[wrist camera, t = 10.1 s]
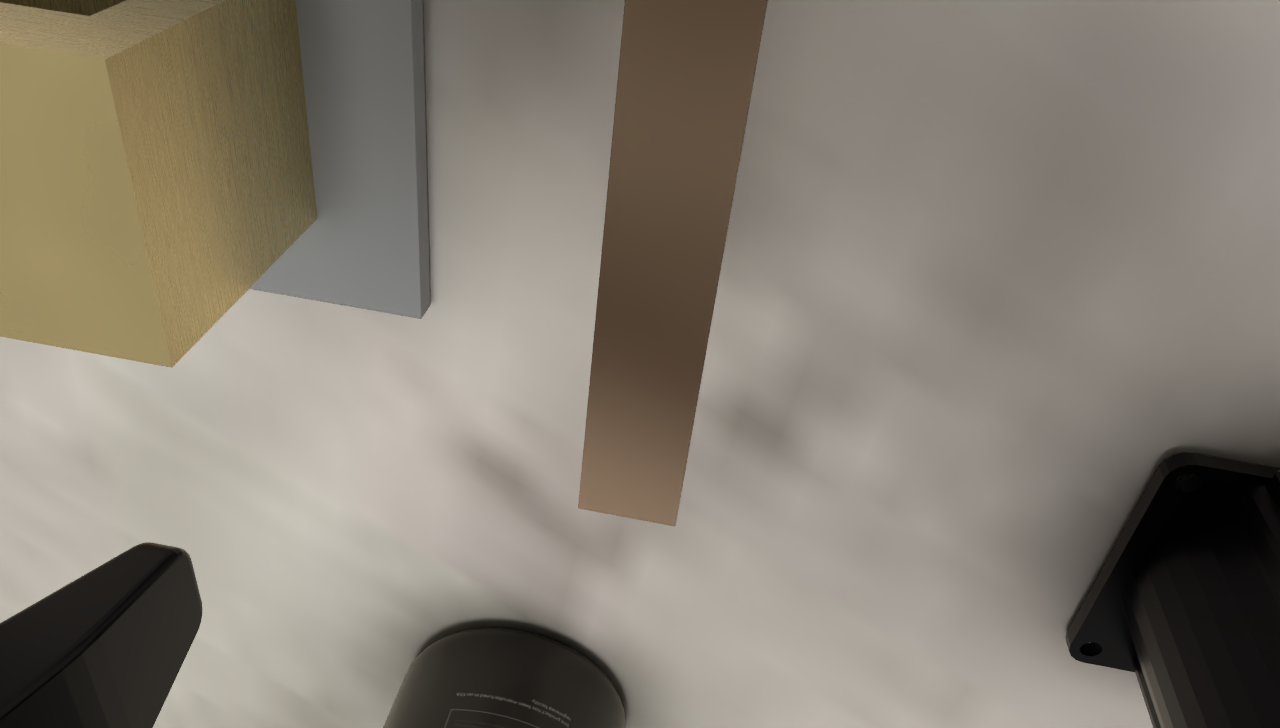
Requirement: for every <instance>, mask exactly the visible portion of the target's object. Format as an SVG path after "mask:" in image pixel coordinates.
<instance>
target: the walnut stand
mask: <svg viewBox="0 0 1280 728" xmlns="http://www.w3.org/2000/svg"><path fill="white" fill-rule="evenodd" d="M767 1H768V0H625V7H624V18H623V29H622V39H621V50H620V61H619V72H618V83H617V94H616V104H615V115H614V126H613V137H612V148H611V159H610V169H609V180H608V191H607V202H606V213H605V224H604V234H603V245H602V256H601V267H600V278H599V289H598V299H597V310H596V321H595V332H594V343H593V354H592V364H591V375H590V386H589V397H588V408H587V419H586V429H585V440H584V451H583V462H582V473H581V484H580V494H579V505H578V508H580V509H585V510H590V511H596V512H601V513H606V514H612V515H617V516H622V517H628V518H633V519H638V520H644V521H649V522H654V523H660V524H665V525H671V526H675V525H676V520H677V514H678V508H679V503H680V497H681V491H682V486H683V480H684V474H685V469H686V463H687V457H688V452H689V446H690V440H691V435H692V429H693V423H694V417H695V412H696V406H697V400H698V395H699V389H700V383H701V378H702V372H703V366H704V360H705V355H706V349H707V343H708V338H709V332H710V326H711V320H712V315H713V309H714V303H715V298H716V292H717V286H718V280H719V275H720V269H721V263H722V258H723V252H724V246H725V241H726V235H727V229H728V223H729V218H730V212H731V206H732V201H733V195H734V189H735V183H736V178H737V172H738V166H739V161H740V155H741V149H742V143H743V138H744V132H745V126H746V121H747V115H748V109H749V104H750V98H751V92H752V86H753V81H754V75H755V69H756V64H757V58H758V52H759V46H760V41H761V35H762V29H763V24H764V18H765V12H766V6H767Z"/></svg>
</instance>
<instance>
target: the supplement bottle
mask: <svg viewBox="0 0 1280 728" xmlns="http://www.w3.org/2000/svg"><path fill="white" fill-rule="evenodd" d="M383 728H626V719H625V711H624V708H623V704H622V702H621V699H620V697H619V695H618V693H617V691H616V689H615V688H614V686H613V685H612V683H611V682H610V680H609V679H608V678H607V677H606V676H605V674H604V673H603V672H602V671H601V670H600V669H599V668H598V667H597V666H595V665H594V664H593V663H592V662H591V661H589V660H588V659H587V658H586V657H584V656H583V655H581V654H580V653H578V652H576V651H575V650H573V649H571V648H570V647H568V646H565V645H563V644H561V643H559V642H557V641H554V640H552V639H549V638H547V637H544V636H541V635H537V634H534V633H530V632H525V631H521V630H514V629H506V628H478V629H470V630H465V631H461V632H457V633H454V634H451V635H448V636H446V637H444V638H441V639H439V640H438V641H436V642H434V643H432V644H431V645H430V646H428V647H427V648H426V649H424V650H423V651H422V652H421V653H420V654H419V655H418V656H417V657H416V659H415V660H414V661H413V663H412V664H411V666H410V668H409V670H408V672H407V674H406V676H405V678H404V680H403V682H402V685H401V687H400V689H399V692H398V694H397V697H396V699H395V701H394V703H393V705H392V708H391V710H390V713H389V715H388V717H387V720H386V722H385V725H384V727H383Z"/></svg>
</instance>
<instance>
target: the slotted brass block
mask: <svg viewBox="0 0 1280 728" xmlns="http://www.w3.org/2000/svg"><path fill="white" fill-rule="evenodd" d="M316 220H317V210H316V200H315V190H314V180H313V170H312V160H311V150H310V140H309V130H308V120H307V110H306V100H305V90H304V80H303V70H302V60H301V50H300V40H299V31H298V21H297V11H296V1H295V0H126V1H124V0H0V336H1V337H7V338H12V339H18V340H23V341H29V342H34V343H40V344H45V345H51V346H56V347H62V348H67V349H73V350H78V351H84V352H89V353H95V354H100V355H106V356H111V357H117V358H122V359H128V360H133V361H139V362H144V363H150V364H155V365H161V366H166V367H173V366H174V365H175V364H176V363H177V362H178V361H179V360H180V359H181V358H182V357H183V356H184V355H185V354H186V353H187V352H188V351H189V350H190V349H191V348H192V347H193V346H194V345H195V344H196V343H197V342H198V341H199V339H200V338H201V337H202V336H203V335H204V334H205V333H206V332H207V331H208V330H209V329H210V328H211V327H212V326H213V325H214V324H215V323H216V322H217V321H218V320H219V319H220V318H221V317H222V316H223V315H224V314H225V313H226V312H227V311H228V310H229V309H230V308H231V307H232V306H233V305H234V304H235V303H236V302H237V301H238V300H239V299H240V298H241V297H242V295H243V294H244V293H245V292H246V291H247V290H248V289H249V288H250V287H251V286H252V285H253V284H254V283H255V282H256V281H257V280H258V279H259V278H260V277H261V276H262V275H263V274H264V273H265V272H266V271H267V270H268V269H269V268H270V267H271V266H272V265H273V264H274V263H275V262H276V261H277V260H278V259H279V258H280V257H281V256H282V255H283V254H284V253H285V251H286V250H287V249H288V248H289V247H290V246H291V245H292V244H293V243H294V242H295V241H296V240H297V239H298V238H299V237H300V236H301V235H302V234H303V233H304V232H305V231H306V230H307V229H308V228H309V227H310V226H311V225H312V224H313V223H314V222H315V221H316Z"/></svg>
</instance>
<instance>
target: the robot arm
mask: <svg viewBox="0 0 1280 728" xmlns="http://www.w3.org/2000/svg"><path fill="white" fill-rule="evenodd" d="M1185 474H1193V475H1192V476H1191V477H1189V478H1187V479H1184V480H1177V479H1178V478H1179V477H1180V476H1182V475H1185ZM201 618H202V602H201V598H200V594H199V590H198V585H197V581H196V577H195V573H194V569H193V565H192V561H191V558H190V555H189V554H188V553H187V552H186V551H185V550H183V549H181V548H177V547H172V546H167V545H162V544H157V543H142V544H139V545H136V546H134V547H132V548H131V549H129V550H127V551H125V552H124V553H122V554H120V555H118V556H117V557H115V558H113V559H111V560H110V561H108V562H106V563H104V564H103V565H101V566H99V567H98V568H96V569H94V570H92V571H91V572H89V573H87V574H85V575H84V576H82V577H80V578H78V579H77V580H75V581H73V582H71V583H70V584H68V585H66V586H64V587H63V588H61V589H59V590H57V591H56V592H54V593H52V594H50V595H49V596H47V597H45V598H44V599H42V600H40V601H38V602H37V603H35V604H33V605H31V606H30V607H28V608H26V609H24V610H23V611H21V612H19V613H17V614H16V615H14V616H12V617H10V618H9V619H7V620H5V621H3V622H2V623H0V728H152V727H153V725H154V723H155V721H156V719H157V717H158V715H159V712H160V710H161V708H162V706H163V704H164V702H165V700H166V698H167V695H168V693H169V691H170V689H171V687H172V685H173V683H174V681H175V678H176V676H177V674H178V672H179V670H180V668H181V666H182V663H183V661H184V659H185V657H186V655H187V653H188V651H189V649H190V646H191V644H192V642H193V640H194V638H195V636H196V634H197V631H198V629H199V626H200V622H201ZM1066 641H1067V645H1068V648H1069V652H1070V654H1071V656H1072V657H1073V658H1075V659H1076V660H1078V661H1081V662H1085V663H1090V664H1095V665H1100V666H1106V667H1111V668H1116V669H1121V670H1127V671H1132V672H1136V675H1137V678H1138V681H1139V685H1140V688H1141V691H1142V694H1143V697H1144V700H1145V703H1146V706H1147V709H1148V712H1149V715H1150V718H1151V721H1152V725H1153V728H1280V468H1275V467H1269V466H1263V465H1258V464H1252V463H1246V462H1241V461H1235V460H1229V459H1224V458H1218V457H1212V456H1206V455H1201V454H1195V453H1180V454H1176V455H1172V456H1170V457H1169V458H1167V459H1165V460H1164V461H1163V462H1162V463H1161V464H1160V466H1159V467H1158V469H1157V470H1156V472H1155V474H1154V476H1153V478H1152V479H1151V481H1150V483H1149V485H1148V487H1147V489H1146V490H1145V492H1144V494H1143V496H1142V498H1141V499H1140V501H1139V503H1138V505H1137V507H1136V508H1135V510H1134V512H1133V514H1132V516H1131V517H1130V519H1129V521H1128V523H1127V525H1126V527H1125V528H1124V530H1123V532H1122V534H1121V536H1120V537H1119V539H1118V541H1117V543H1116V545H1115V546H1114V548H1113V550H1112V552H1111V554H1110V556H1109V557H1108V559H1107V561H1106V563H1105V565H1104V566H1103V568H1102V570H1101V572H1100V574H1099V575H1098V577H1097V579H1096V581H1095V583H1094V584H1093V586H1092V588H1091V590H1090V592H1089V594H1088V595H1087V597H1086V599H1085V601H1084V603H1083V604H1082V606H1081V608H1080V610H1079V612H1078V613H1077V615H1076V617H1075V619H1074V621H1073V622H1072V624H1071V626H1070V628H1069V630H1068V632H1067V634H1066ZM1089 642H1092V643H1089Z"/></svg>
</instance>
